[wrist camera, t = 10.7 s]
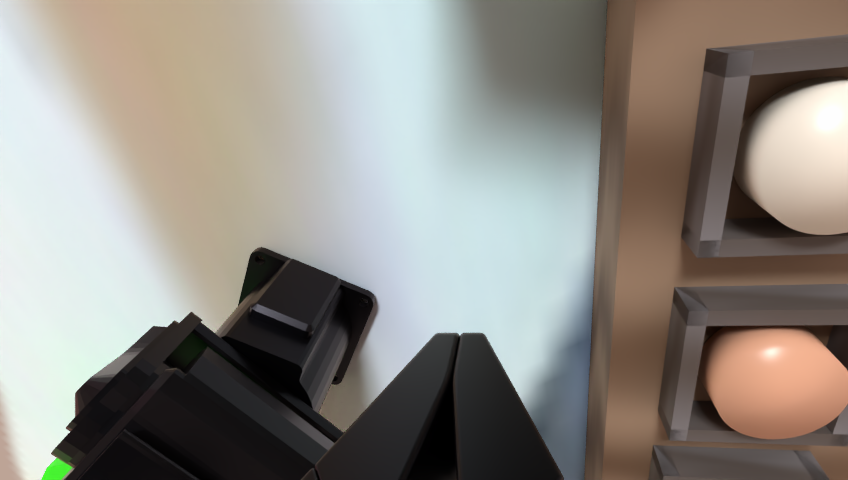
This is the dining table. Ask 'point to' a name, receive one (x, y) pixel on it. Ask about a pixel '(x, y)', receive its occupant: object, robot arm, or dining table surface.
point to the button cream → (799, 156)
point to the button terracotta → (773, 380)
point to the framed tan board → (702, 237)
